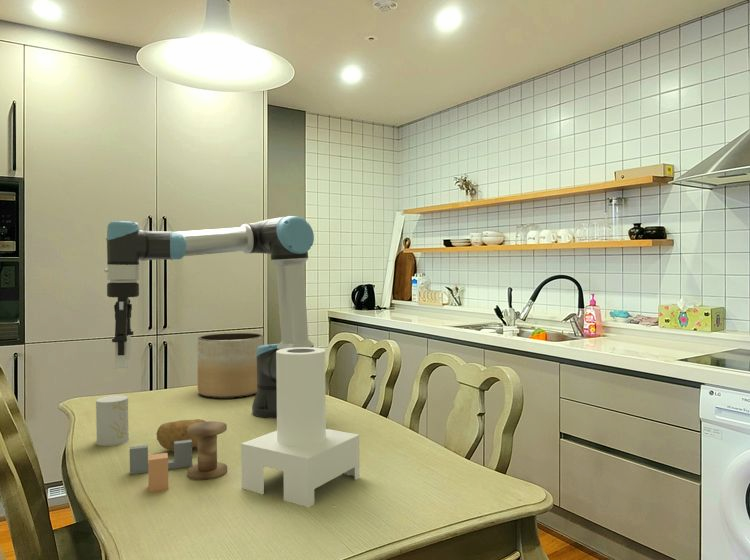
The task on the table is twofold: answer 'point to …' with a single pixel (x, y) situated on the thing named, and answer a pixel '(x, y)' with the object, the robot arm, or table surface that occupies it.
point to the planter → (228, 364)
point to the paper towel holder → (300, 432)
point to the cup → (112, 420)
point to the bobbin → (207, 450)
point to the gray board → (180, 460)
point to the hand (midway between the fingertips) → (123, 364)
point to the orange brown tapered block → (158, 472)
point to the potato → (176, 433)
